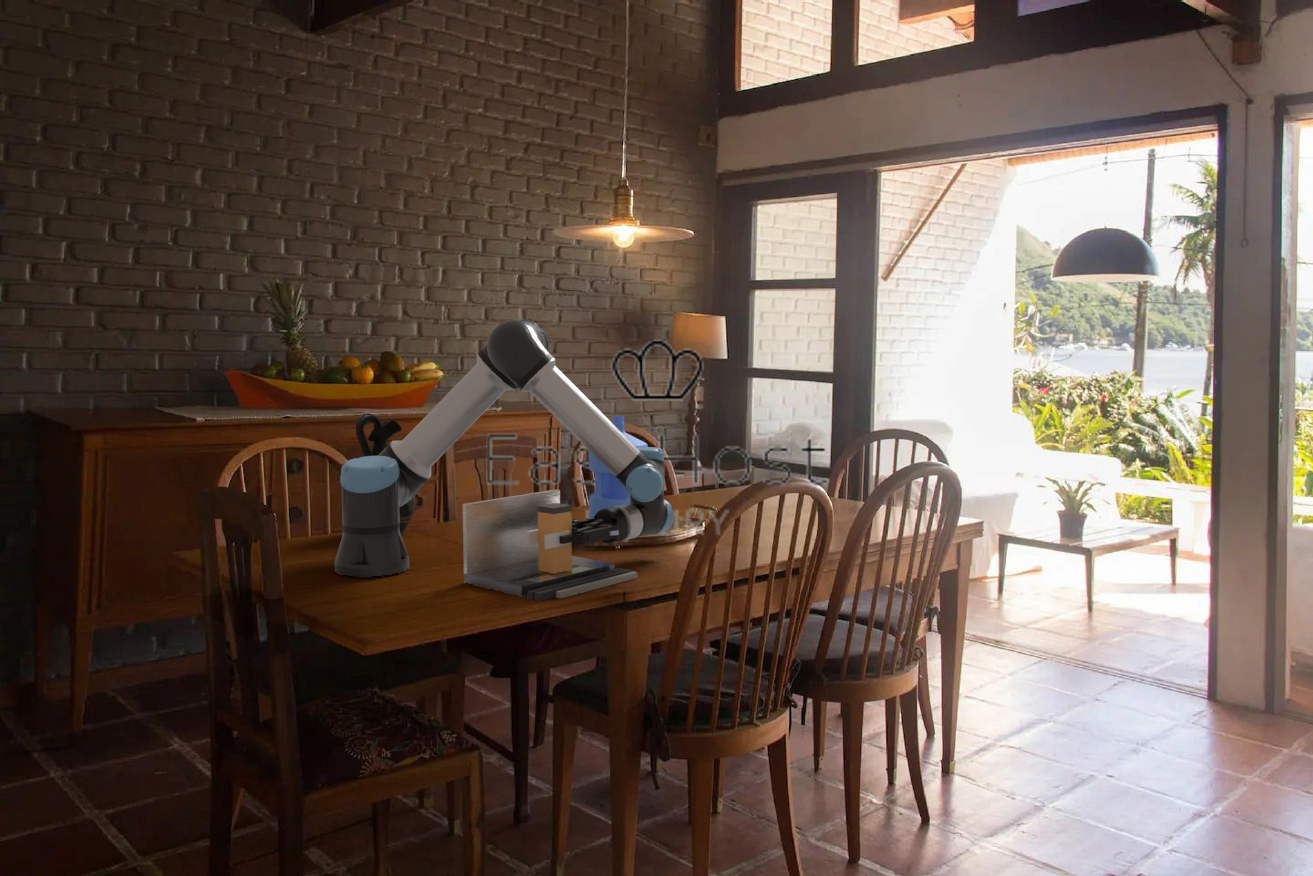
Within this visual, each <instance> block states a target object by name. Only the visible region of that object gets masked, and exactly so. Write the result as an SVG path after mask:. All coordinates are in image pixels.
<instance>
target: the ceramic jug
mask: <svg viewBox="0 0 1313 876" xmlns="http://www.w3.org/2000/svg"><path fill="white" fill-rule="evenodd" d="M370 423H371V424H373V429H372V430H371V432H370V434H369V437H368V439H367V436H366V433H365V426H366V425H368V424H370ZM402 430H403V428H402V426H401V425H400V424H399V423H398V422H397V421H396V420H394V419H389V420H387V421H386V419H384V420H383V421H381V419H380V418H379V417H378V416H376V415H374V414H369V413H368V414H367V413H366V414H363V415H360V417H359V418H357V421H356V424H355V433H356V437H357V440H358V442H359V443H358V444H359V446H360V449H361V450H360V451H361V453H362V454H363V457H365V456H378V455H379V454H380V453H381V452H382V451H383V450H384V449H385V448H386V447H387V446H388V444H387V441H388V440H389V439H390V438H392V437H393V436H395V435H397V434H399V433H400V432H402ZM368 441H369V442H373V445H372V449H371V448H370V446H369V442H368ZM415 496H416V495H415ZM415 496H414V498H413V499H412V500H411V501H409V502H408V503H407V504H404V505H403V506H401V507H399V516H400V534H401V537H404V536H405V530H406V528H407V527H408V525H409V523H410V522H411V520H412V518H413V516H414V513H415V511H416V497H415ZM403 535H404V536H403Z"/></svg>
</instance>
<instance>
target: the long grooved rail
mask: <svg viewBox="0 0 1313 876" xmlns="http://www.w3.org/2000/svg"><path fill="white" fill-rule="evenodd" d="M635 579H638V572H637V571H632V569H628V568H627V569H625V568H623V567H619V568H615V569H614V570H610V571H606V572H602V573H598V574H594V575H590V576H586V577H582V578H578V579H574V580H570V581H566V582H562V583H558V584H554V585H550V586H546V587H542V588H538V589H534V590H530V591H527V596H526V597H527V598H528V599H527V600H531V601H536V602H542V601H545V600H549V599H552V598H556V599H563V598H564V599H565V598H569V597H572V596H575V595H579V593H580V594H583V593H586V592H589V591H590V592H591V591H594V590H597V589H598V590H599V589H602V588H605V587H609V586H612V585H613V586H614V585H617V584H620V583H623V582H624V583H625V582H628V581H632V580H635Z"/></svg>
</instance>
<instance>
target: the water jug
mask: <svg viewBox="0 0 1313 876" xmlns="http://www.w3.org/2000/svg"><path fill="white" fill-rule="evenodd" d="M611 418H612V423H613V424H614V425H615V426H616V427H617V428H618V429H619V430H620V431H621V432H622V433H623V434H624V435H625V436H626V437H627V438H628V439H629V440H630V441H631V442H632V443H633V445H634V446H635V447H636V448H638V447H649V446H648V443H646V442H644V441H643V440H641V439H639V438H637V437H635V436H633V435H631V434H630V433H627V432H626V431H625V416H623V415H617V416H616V415H614V416H611ZM588 470H590V471H591V472H593V473H594V492H593V493H591V494H590V495H589V496H588V497H589V498H588V500H589V501H588V502H589V503H588V508H589V509H588V511H589V512H588V518H594V516H595V515H596V513H597V512H598V511H599V510H601V509H605V508H611V507H615V506H620V505H626V504H630V494H629V493H628V491H627V489H626V487H625V486H624V485H623V484H622V483H621V482H620V481H619V480H618V479H617V478H616V477H615V476H614V475H613V474H612V473H611V472H610V471H609V470H608V469H607V468H606V467H605V466H604V465H603V464H602V463H601V462H600V461H599V460H598V459H597V458H596V457H595V456H594V455H593V454H592V453H591V452H590V451H589V450H588Z"/></svg>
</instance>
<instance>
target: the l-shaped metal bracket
mask: <svg viewBox="0 0 1313 876" xmlns="http://www.w3.org/2000/svg"><path fill="white" fill-rule="evenodd" d="M552 503H560V504H561V490H560V489H558V488H557V489H550V490H544V491H539V492H538V491H537V492H531V493H530V492H529V493H525V494H519V495H511V496H504V497H500V498H493V499H488V500H487V499H486V500H480V501H475V502H467V503H462V535H463V536H462V537H463V539H462V543H463V546H462V548H463V549H462V550H463V552H462V553H463V554H462V555H463V584H465V583H468V584H467V585H469V584H474V585H477V586H476V587H478V586H479V587H478V588H482V587H486V588H487V589H486V588H485V589H486V590H490V589H493V590H492V591H494V590H496V591H495V592H498V591H502V592H504V594H507V593H510V594H509V595H511V594H512V595H511V596H515V595H517V596H516V597H519V598H524V597H527V591H530V590H534V589H538V588H542V587H546V586H550V585H554V584H558V583H562V582H566V581H570V580H574V579H578V578H582V577H586V576H590V575H594V574H598V573H602V572H606V571H610V570H614V569H616V568H615V564H616V563H611V562H606V561H602V560H596V559H591V558H585V557H581V556H577V555H576V556H575V555H572V570H568V571H564V572H560V573H556V574H553V573H548V572H543V571H539V560H538V544H533V545H526V531H531V530H537V529H538V506H540V505H546V504H552ZM502 592H501V593H502Z"/></svg>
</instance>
